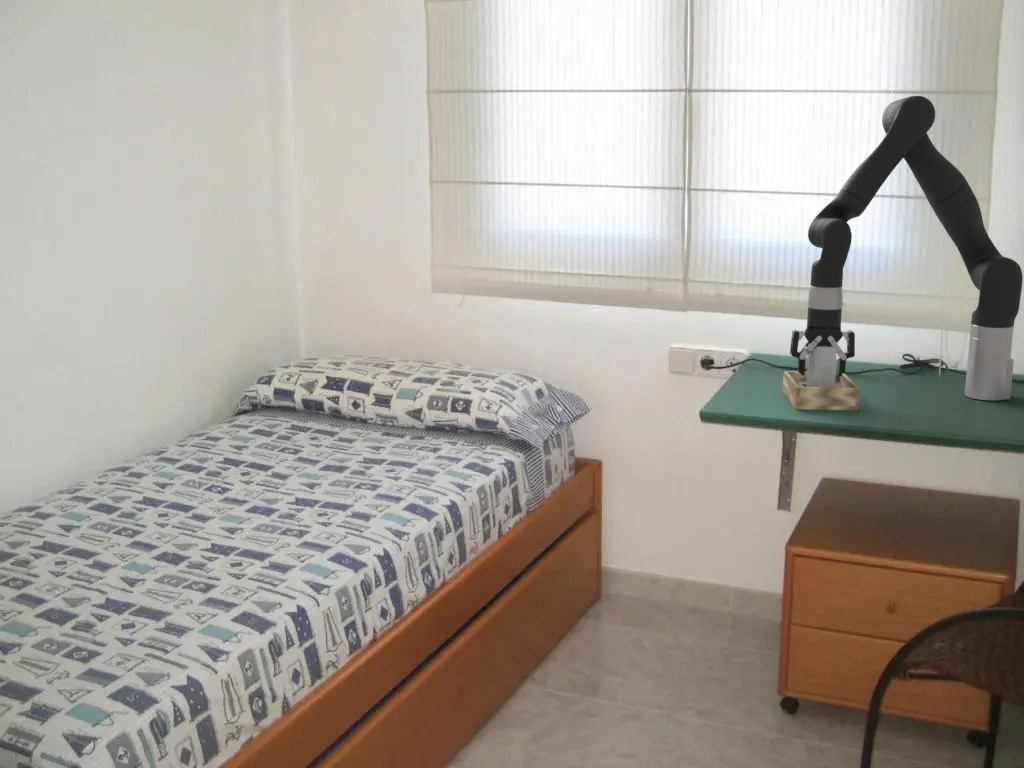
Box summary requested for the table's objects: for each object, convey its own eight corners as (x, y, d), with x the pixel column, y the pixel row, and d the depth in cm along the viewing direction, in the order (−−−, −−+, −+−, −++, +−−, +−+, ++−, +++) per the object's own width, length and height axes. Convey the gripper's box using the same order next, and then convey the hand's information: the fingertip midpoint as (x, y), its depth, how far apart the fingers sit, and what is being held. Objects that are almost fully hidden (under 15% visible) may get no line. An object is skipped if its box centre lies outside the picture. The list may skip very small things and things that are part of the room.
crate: (841, 392, 269) (842, 372, 268) (858, 410, 252) (860, 388, 250) (782, 391, 270) (783, 371, 269) (795, 409, 253) (796, 387, 251)
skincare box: (835, 398, 258) (838, 347, 256) (818, 399, 257) (821, 348, 254) (821, 392, 264) (824, 342, 262) (804, 394, 263) (807, 343, 260)
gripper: (853, 303, 259) (848, 372, 263) (790, 303, 260) (786, 371, 264) (860, 308, 252) (855, 379, 255) (796, 307, 253) (792, 378, 256)
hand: (820, 375), depth 259 cm, fingers open, 8 cm apart
